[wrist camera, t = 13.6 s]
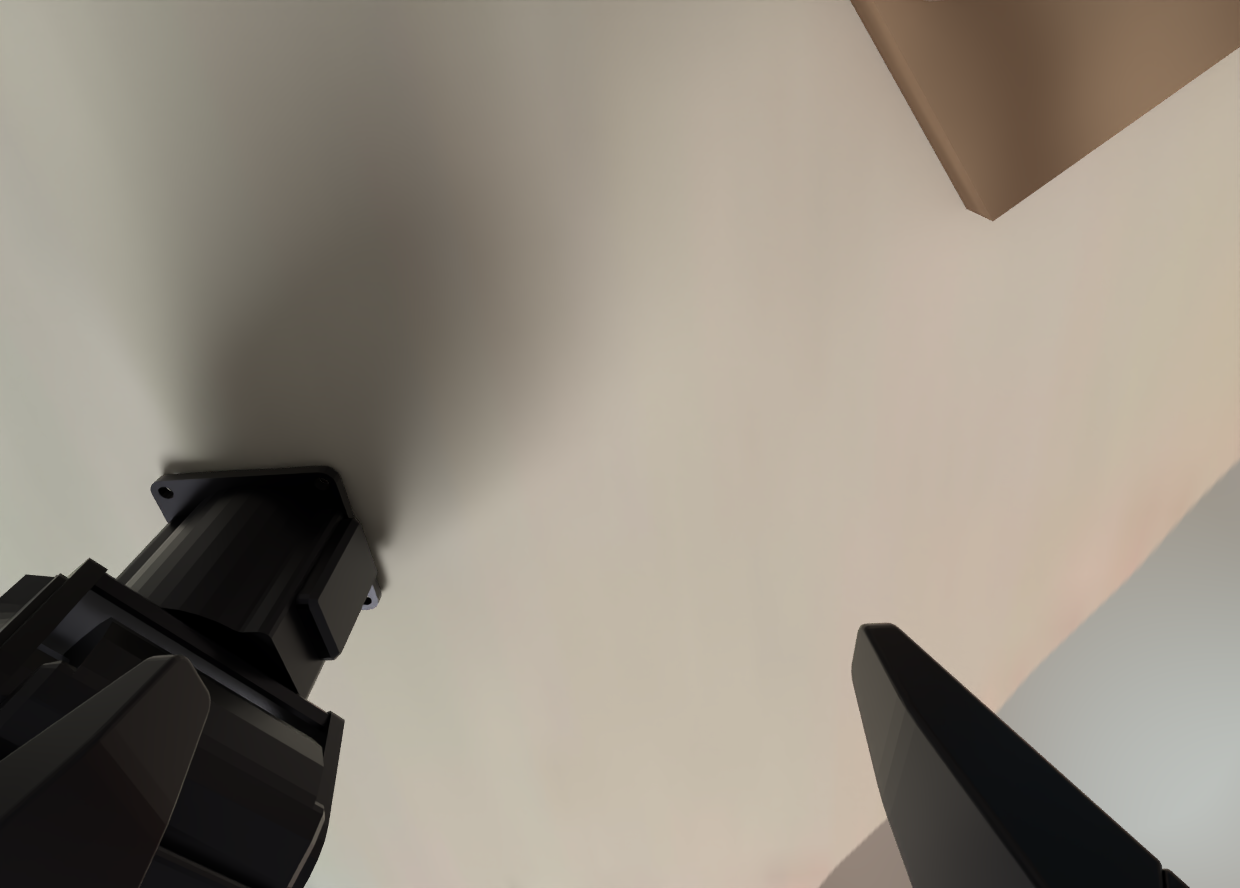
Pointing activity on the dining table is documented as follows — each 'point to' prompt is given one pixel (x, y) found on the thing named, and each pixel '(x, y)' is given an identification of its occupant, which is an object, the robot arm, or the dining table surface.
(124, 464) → the dining table surface
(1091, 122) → the walnut base plate
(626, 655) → the dining table surface
